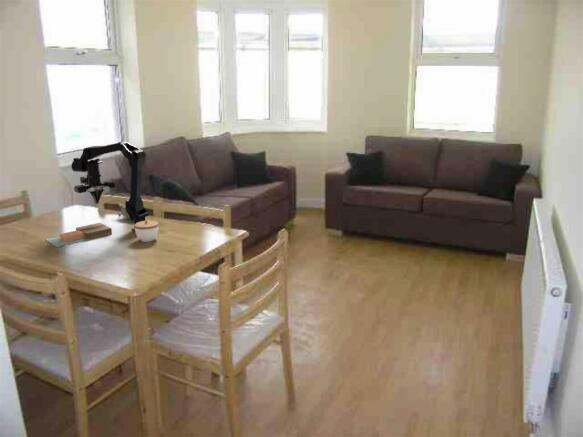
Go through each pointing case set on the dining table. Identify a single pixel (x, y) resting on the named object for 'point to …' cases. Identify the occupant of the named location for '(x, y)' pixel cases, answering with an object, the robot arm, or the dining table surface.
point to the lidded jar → (146, 230)
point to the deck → (95, 230)
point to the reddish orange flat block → (72, 236)
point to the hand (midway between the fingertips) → (97, 203)
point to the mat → (59, 242)
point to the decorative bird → (124, 211)
